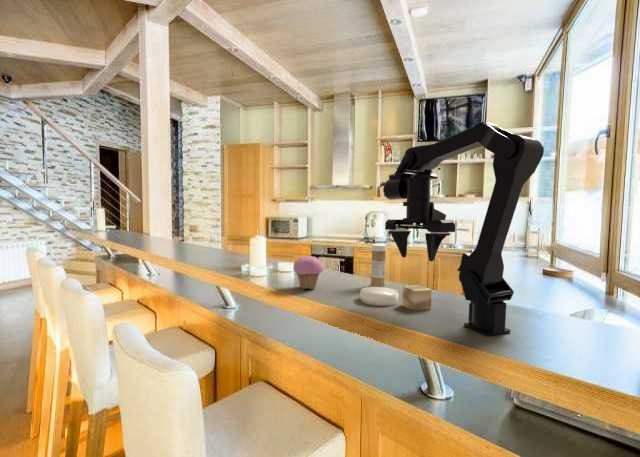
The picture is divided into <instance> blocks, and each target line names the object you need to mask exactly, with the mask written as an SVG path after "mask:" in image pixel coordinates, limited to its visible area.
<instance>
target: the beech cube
mask: <svg viewBox="0 0 640 457" xmlns="http://www.w3.org/2000/svg"><path fill="white" fill-rule="evenodd" d="M432 291H433V290H432V289H431V288H428V287H425V286H423V285H420V284H415V285H404V286H403V285H402V297H401V298H402V299H401V300H402V302H401V306H403V307H406V308H407V309H409V310H411V309H412V311H415V310H417V311H423V310H424V311H425V310H431V309H432Z"/></svg>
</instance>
